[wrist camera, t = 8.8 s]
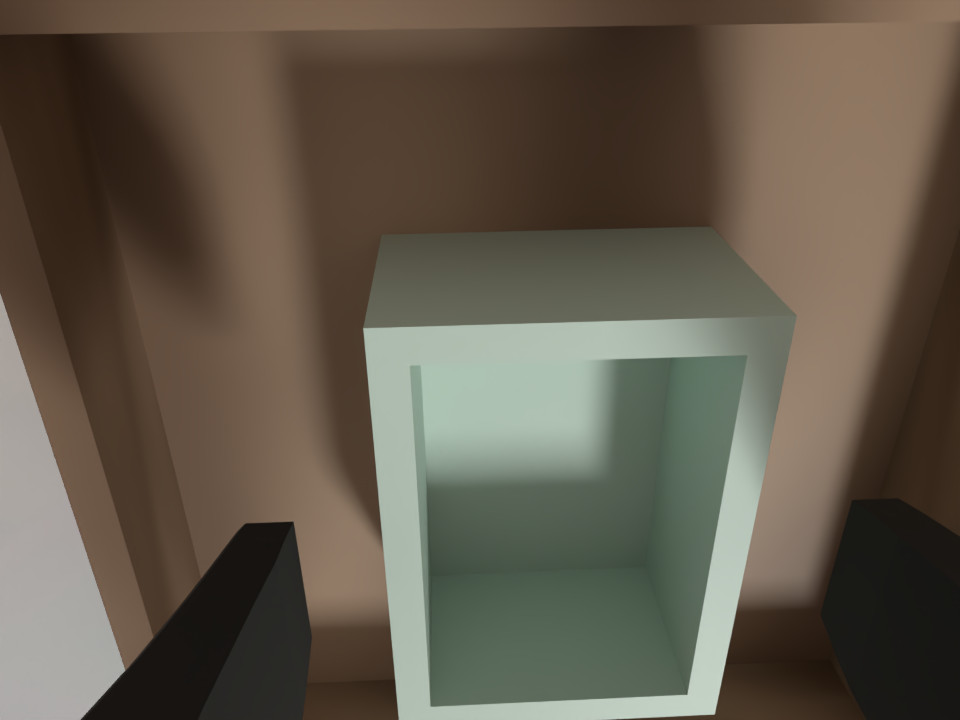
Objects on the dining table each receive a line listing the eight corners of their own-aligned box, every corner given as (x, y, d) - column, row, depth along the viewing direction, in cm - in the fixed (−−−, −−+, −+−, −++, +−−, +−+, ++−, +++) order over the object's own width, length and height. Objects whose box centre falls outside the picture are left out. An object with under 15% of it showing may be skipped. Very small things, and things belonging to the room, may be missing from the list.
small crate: (407, 580, 15) (399, 729, 12) (381, 234, 12) (363, 328, 9) (662, 570, 15) (714, 714, 12) (711, 226, 12) (797, 315, 9)
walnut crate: (211, 683, 17) (171, 810, 14) (26, -35, 10) (-108, -30, 8) (839, 655, 17) (905, 773, 15) (1054, -47, 11) (1238, -44, 8)
